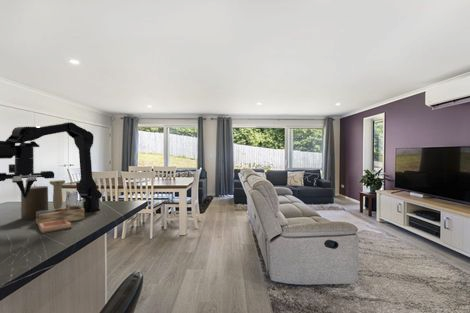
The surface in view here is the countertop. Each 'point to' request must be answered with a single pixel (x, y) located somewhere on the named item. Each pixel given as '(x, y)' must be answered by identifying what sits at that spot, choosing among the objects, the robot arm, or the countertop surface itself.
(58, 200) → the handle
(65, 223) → the rack tray
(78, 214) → the socket block
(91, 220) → the countertop surface
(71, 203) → the grey tall cylinder
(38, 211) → the grey rectangular metal block
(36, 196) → the pillar candle
